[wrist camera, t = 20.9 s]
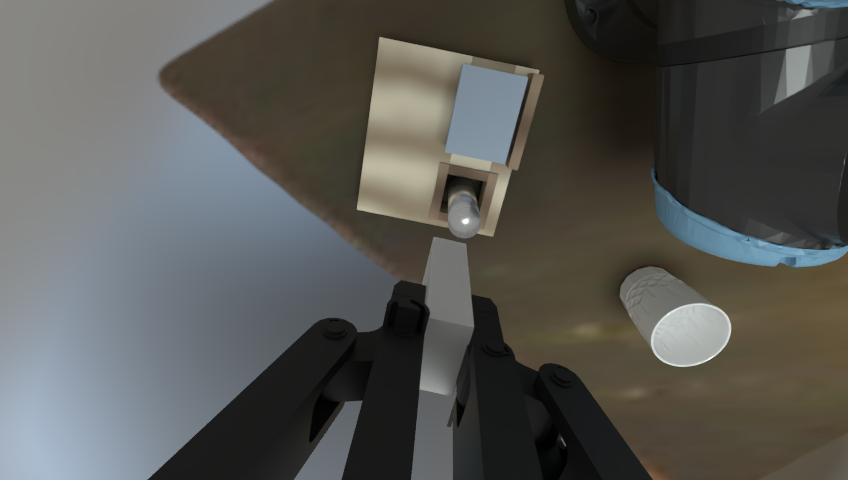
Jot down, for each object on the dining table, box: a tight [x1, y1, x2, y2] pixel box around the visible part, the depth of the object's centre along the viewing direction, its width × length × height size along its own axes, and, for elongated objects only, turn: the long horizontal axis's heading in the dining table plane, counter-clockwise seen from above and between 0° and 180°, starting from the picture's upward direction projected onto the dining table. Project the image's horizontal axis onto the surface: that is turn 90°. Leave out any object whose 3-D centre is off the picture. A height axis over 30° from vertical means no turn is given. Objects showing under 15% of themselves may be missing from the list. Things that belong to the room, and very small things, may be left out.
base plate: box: [357, 37, 545, 236], centre depth 42 cm, size 18×16×6 cm
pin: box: [448, 177, 481, 238], centre depth 41 cm, size 3×3×12 cm
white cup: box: [619, 266, 731, 367], centre depth 46 cm, size 8×8×10 cm
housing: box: [445, 64, 528, 164], centre depth 39 cm, size 8×6×4 cm
